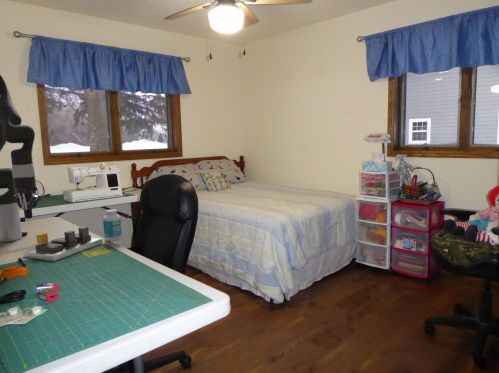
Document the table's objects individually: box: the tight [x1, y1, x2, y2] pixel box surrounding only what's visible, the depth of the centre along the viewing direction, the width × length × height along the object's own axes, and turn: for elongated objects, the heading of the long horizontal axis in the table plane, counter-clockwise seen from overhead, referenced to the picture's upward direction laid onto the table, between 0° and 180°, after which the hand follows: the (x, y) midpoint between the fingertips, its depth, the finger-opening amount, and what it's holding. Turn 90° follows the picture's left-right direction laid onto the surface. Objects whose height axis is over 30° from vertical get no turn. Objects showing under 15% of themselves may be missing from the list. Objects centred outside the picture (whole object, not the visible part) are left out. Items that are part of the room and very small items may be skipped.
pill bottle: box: [102, 209, 123, 242], centre depth 161 cm, size 8×7×14 cm
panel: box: [23, 226, 104, 262], centre depth 148 cm, size 17×24×8 cm
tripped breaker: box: [35, 232, 49, 245], centre depth 143 cm, size 2×3×4 cm
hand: (28, 218), depth 144 cm, fingers closed
